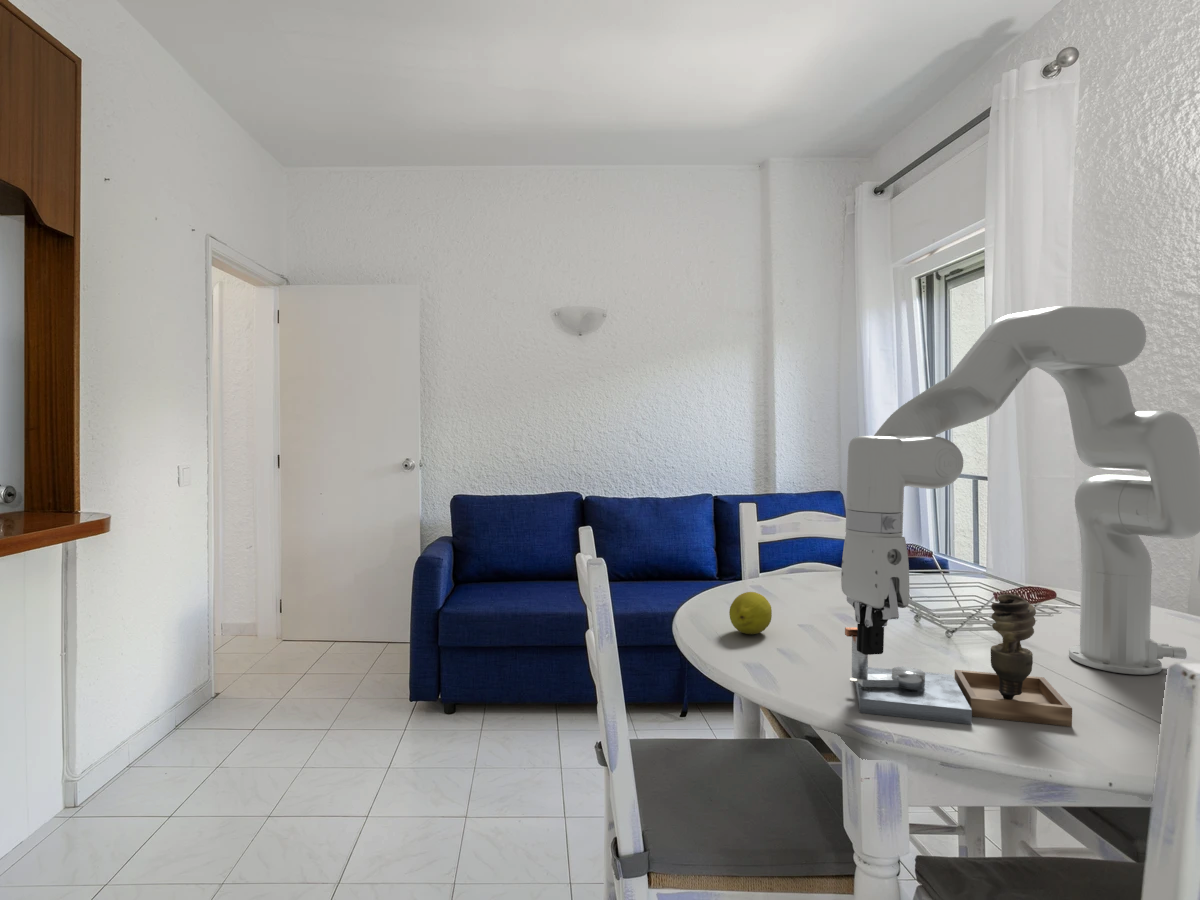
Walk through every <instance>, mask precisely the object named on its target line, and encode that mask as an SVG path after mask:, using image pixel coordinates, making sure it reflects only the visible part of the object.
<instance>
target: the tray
mask: <svg viewBox="0 0 1200 900" xmlns="http://www.w3.org/2000/svg"><path fill="white" fill-rule="evenodd" d="M954 679H955V681H956V682H957V684H958V686H959V688H960V690H961V691H962V693H963V695H964V697H965V698H966V700H967V702H968V704H969V706H970V707H971V709H972V718H973V717H975V718H983V719H991V720H992V719H994V720H1002V721H1003V720H1005V721H1013V722H1024V723H1031V724H1041V725H1051V726H1059V727H1060V726H1062V727H1069V728H1072V727H1073V706H1071V705H1070V704H1069V703H1068V701H1066V700H1065V699H1064V697H1063V696H1061V694H1060V693H1059V692H1058V691H1057V690H1056V689H1055V687H1053V685H1052V684H1050V683H1049V681H1048V680H1047V679H1046V678H1045V677H1043V676H1034V675H1033V676H1032V675H1028V676H1027V677H1026V679H1025V680H1024V681H1023V685H1022V690H1021V691H1022V693H1021V695H1015V696H1014V697H1013V699H1005V698H1003V696H1002V695H1001V693H1000V692H999V686H1000V681H999V677H998V675H997V674H996V672H989V671H988V672H987V671H975V670H963V669H962V670H961V669H954Z"/></svg>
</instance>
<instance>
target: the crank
mask: <svg viewBox="0 0 1200 900" xmlns="http://www.w3.org/2000/svg"><path fill="white" fill-rule="evenodd" d="M844 635H845V636H846V637H851V678H855V679H857V681H858V682H859V684H860V685H861V686H862V687H900V688H904V689H912V690H917V689H923V688H924V687H925V673H924V672H925V671H923V670H921V669H918V668H916V667H912V666H895V667H893V668H891V669H892V674H868V667H869V655H864V654H862V653H861V652H859V651H857V627H844Z"/></svg>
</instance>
